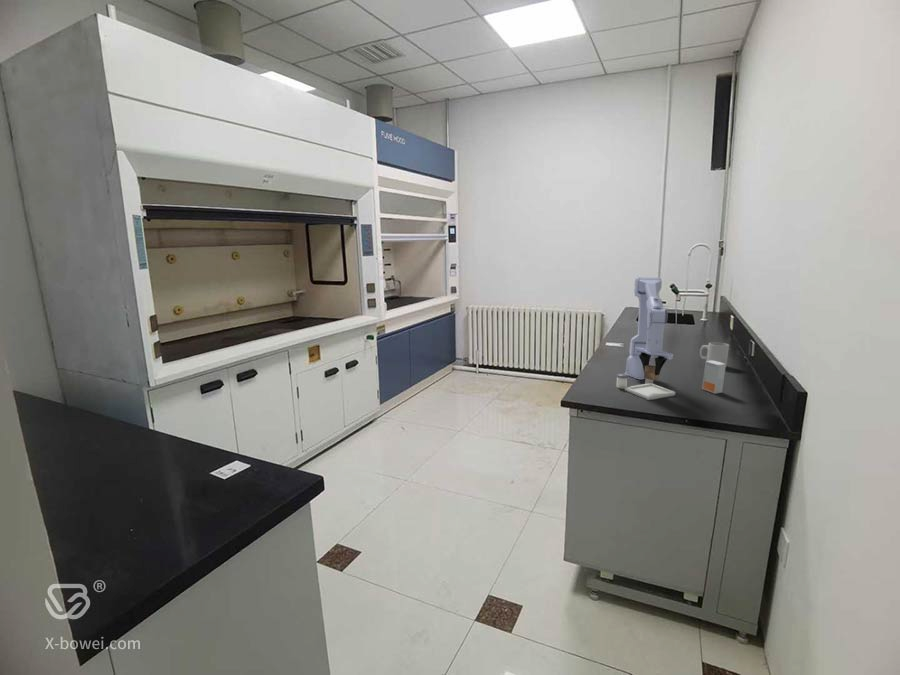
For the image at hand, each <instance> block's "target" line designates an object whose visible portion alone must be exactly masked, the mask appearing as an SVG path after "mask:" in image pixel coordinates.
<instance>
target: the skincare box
mask: <svg viewBox="0 0 900 675" xmlns="http://www.w3.org/2000/svg"><path fill="white" fill-rule="evenodd" d="M725 367H726V368H727V366H726V364H724V363H721V362H717V361H713V360H711V361H706V360H705V364H704V369H703V370H704V372H703V379H702V384H701V385H702V386H701V389H702V390H704V391H707V392H709V393H712V394H721V393H723V388H724V379H725V374H726V373H725V372H726V368H725Z"/></svg>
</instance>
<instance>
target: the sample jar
mask: <svg viewBox="0 0 900 675" xmlns="http://www.w3.org/2000/svg"><path fill="white" fill-rule="evenodd" d="M628 377H629V376H628V375H626V374H624V373H617V374H616V383H615V384H616V385H615V387H616V389H617V388H618V389H623V390H625V387H628V386H627V385H628Z"/></svg>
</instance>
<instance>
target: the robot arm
mask: <svg viewBox="0 0 900 675" xmlns="http://www.w3.org/2000/svg"><path fill="white" fill-rule="evenodd" d="M662 283H663V281H662V278H661V277H660V276H657V277H656V276H651V277H650V276H637V277H635V281H634V291H633V292H634V296H635V297H637V298H638V301H639V302H638V317H637V318H638V319H637V320H638V321H637V322H638V323H637V334H636V335H634V336H633V337H632V338H631V339H630V343H629V349H628V350H629V356H628V357H627V358H626V361H625V362H626V363H625V364H626V365H625V372H624V373H623V374H626V375H628V377H631V378H634V379H636V380H637V379H638V380H645V379H646V378H644V371H645V366H646V365H649V364H651V359H652V358H653V357H654V362H655V364H654V365H655V366H656V367H655V375H659V376H660V373H661V371H662V368H663V366H664V365H665V363H666V361H667V360H670V361H671V360H673V359H674V354H673V353H671V352H670V353H669V352H667V351H664V350H663V345H664V344H663V343H664V342H663V341H664V332H665V325H666V324H667V322H668V317H669V316H668V315H669V314H668V309H667V308H665V307H664V304H663V300H662V298H660V296H659V293H660V291H661V289H662Z"/></svg>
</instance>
